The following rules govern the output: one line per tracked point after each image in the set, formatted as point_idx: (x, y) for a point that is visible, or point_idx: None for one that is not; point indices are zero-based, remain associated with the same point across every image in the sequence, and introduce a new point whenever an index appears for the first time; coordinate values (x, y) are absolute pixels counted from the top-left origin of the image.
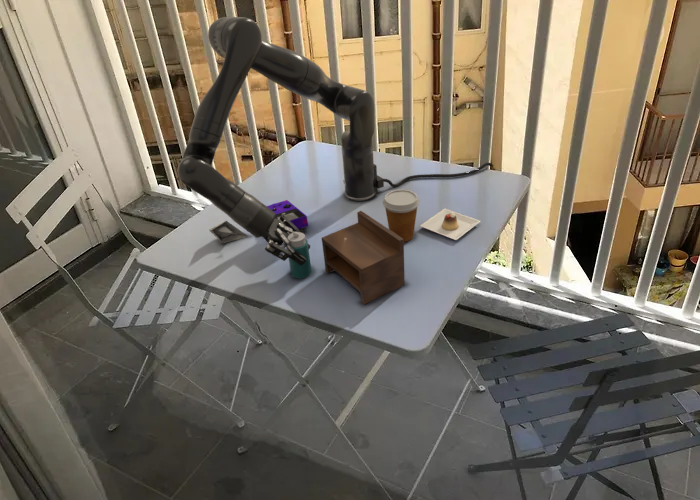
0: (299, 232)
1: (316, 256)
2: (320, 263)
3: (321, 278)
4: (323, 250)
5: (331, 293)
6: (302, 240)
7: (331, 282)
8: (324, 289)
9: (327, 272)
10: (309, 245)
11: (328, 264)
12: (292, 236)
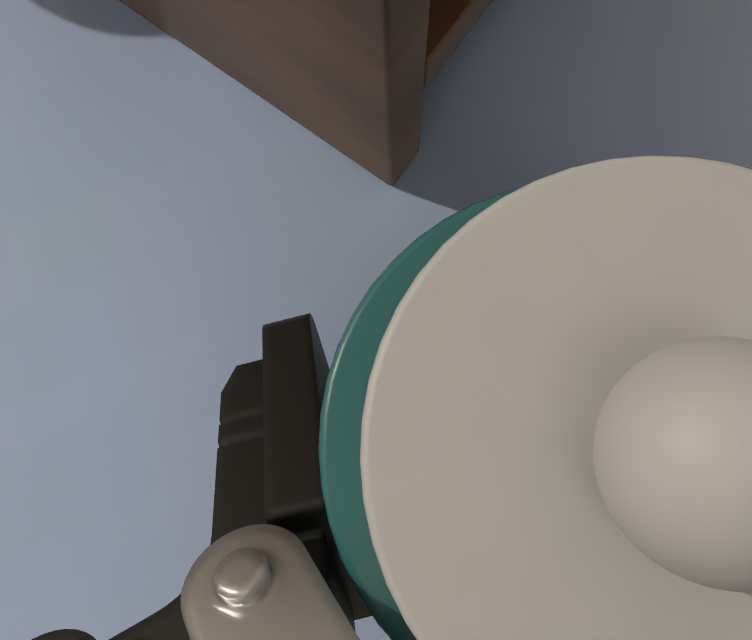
0: (383, 451)
1: (152, 388)
2: (268, 293)
3: (514, 182)
4: (397, 17)
5: (707, 3)
6: (743, 183)
7: (546, 65)
8: (672, 87)
9: (415, 152)
10: (285, 326)
11: (449, 51)
12: (712, 602)
